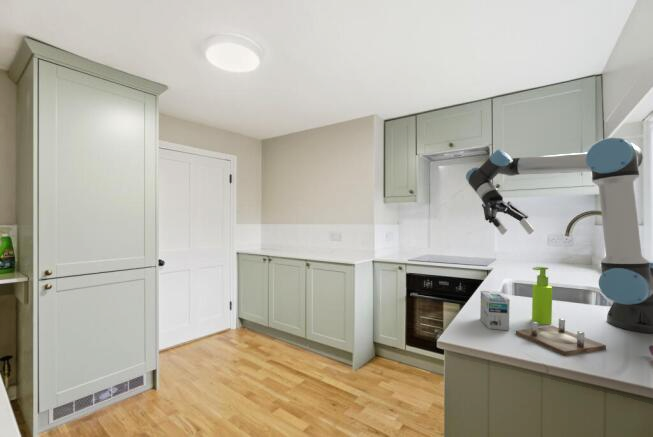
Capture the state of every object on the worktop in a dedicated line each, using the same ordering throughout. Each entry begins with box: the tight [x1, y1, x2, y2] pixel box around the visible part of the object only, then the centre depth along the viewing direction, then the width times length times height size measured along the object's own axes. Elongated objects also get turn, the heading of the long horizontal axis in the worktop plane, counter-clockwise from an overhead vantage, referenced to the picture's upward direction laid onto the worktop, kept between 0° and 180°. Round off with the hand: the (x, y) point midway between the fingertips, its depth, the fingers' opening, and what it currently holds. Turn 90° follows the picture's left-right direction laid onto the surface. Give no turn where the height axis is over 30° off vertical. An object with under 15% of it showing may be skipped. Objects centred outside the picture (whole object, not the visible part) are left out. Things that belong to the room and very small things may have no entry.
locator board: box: [515, 318, 607, 357], centre depth 97 cm, size 16×16×5 cm
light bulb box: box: [479, 290, 511, 331], centre depth 111 cm, size 11×7×11 cm, turn 168°
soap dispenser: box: [531, 266, 553, 325], centre depth 114 cm, size 6×7×20 cm
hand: (518, 232), depth 123 cm, fingers open, 13 cm apart
